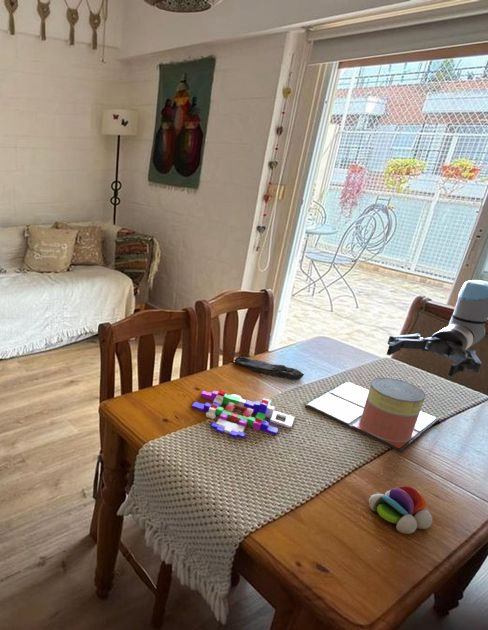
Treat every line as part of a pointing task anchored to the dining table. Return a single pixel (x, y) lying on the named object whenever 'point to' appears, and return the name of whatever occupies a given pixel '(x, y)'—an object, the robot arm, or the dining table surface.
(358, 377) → the dining table surface
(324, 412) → the board
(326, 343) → the dining table surface
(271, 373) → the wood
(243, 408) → the building block set
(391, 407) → the canned food
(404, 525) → the rainbow cloud toy
